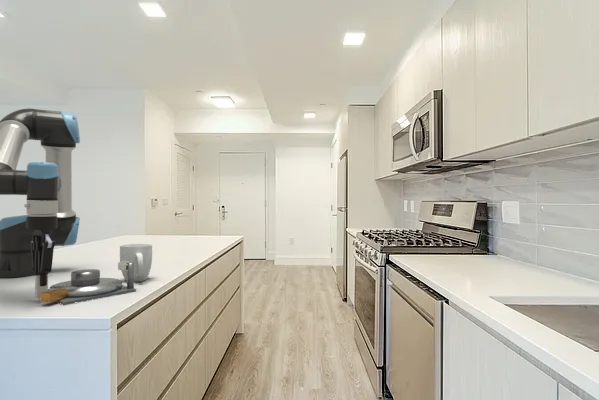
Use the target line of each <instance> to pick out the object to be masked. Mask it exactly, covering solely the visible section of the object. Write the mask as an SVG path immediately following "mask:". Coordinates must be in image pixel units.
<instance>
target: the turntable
mask: <svg viewBox="0 0 599 400" xmlns="http://www.w3.org/2000/svg"><path fill="white" fill-rule="evenodd" d="M122 285H123V280H121V279H120V278H115V277H114V278H113V277H100V283H99V284H97V285H92V286H85V287H74V286H71V280H67V281H61V282H58V283H55V284H52V285H50V287H49V289H50V291H46V292H43V293H41V294H40V298H39V299H40V301H39V302H40V303H53V302H55V301H56V300H59V299H62V298H65V297H80V296H91V295H98V294H103V293H108V292H112V291H115V290H118V289H120V288H121V287H122Z"/></svg>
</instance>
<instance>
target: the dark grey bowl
mask: <svg viewBox="0 0 599 400" xmlns="http://www.w3.org/2000/svg"><path fill="white" fill-rule="evenodd" d="M70 273H71V274H70V281H71V286H74V287H85V286H92V285H97V284H99V283H100V278H101V270H100V269H96V268H91V269H90V268H88V269H85V268H84V269H79V270H78V269H77V270H74V271H71V272H70Z"/></svg>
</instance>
